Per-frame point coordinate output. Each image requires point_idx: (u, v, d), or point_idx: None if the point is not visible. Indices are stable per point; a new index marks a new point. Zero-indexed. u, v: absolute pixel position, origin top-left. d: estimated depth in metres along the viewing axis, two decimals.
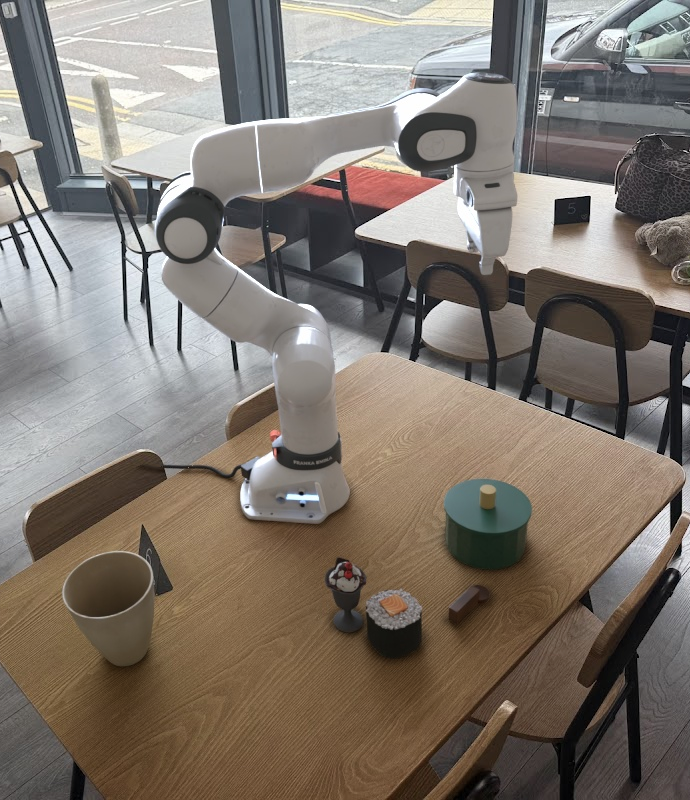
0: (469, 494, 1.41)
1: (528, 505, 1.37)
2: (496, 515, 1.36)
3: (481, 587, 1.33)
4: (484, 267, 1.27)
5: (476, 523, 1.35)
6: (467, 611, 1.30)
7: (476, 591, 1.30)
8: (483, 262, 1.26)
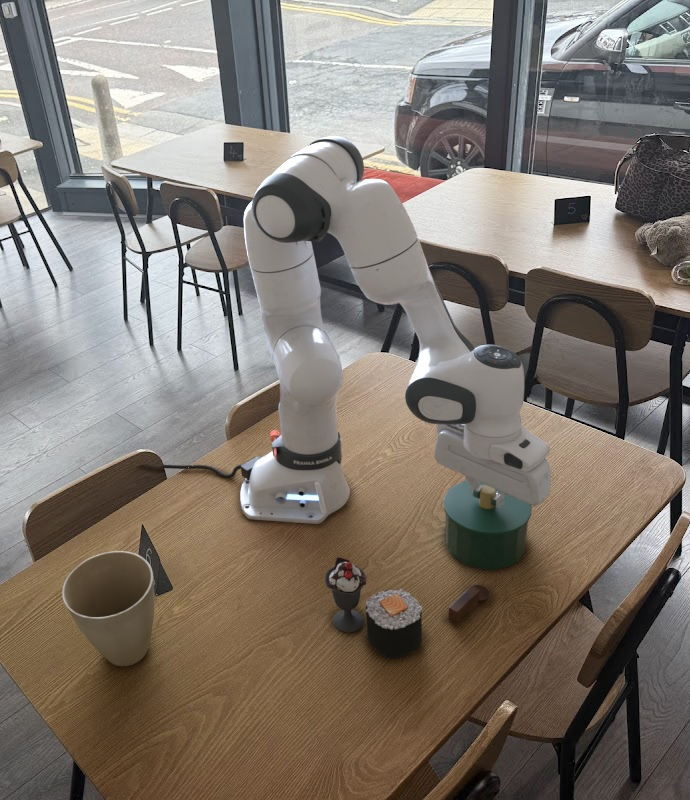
0: (469, 494, 1.41)
1: (528, 505, 1.37)
2: (496, 515, 1.36)
3: (481, 587, 1.33)
4: (500, 501, 1.35)
5: (476, 523, 1.35)
6: (467, 611, 1.30)
7: (476, 591, 1.30)
8: (502, 499, 1.34)
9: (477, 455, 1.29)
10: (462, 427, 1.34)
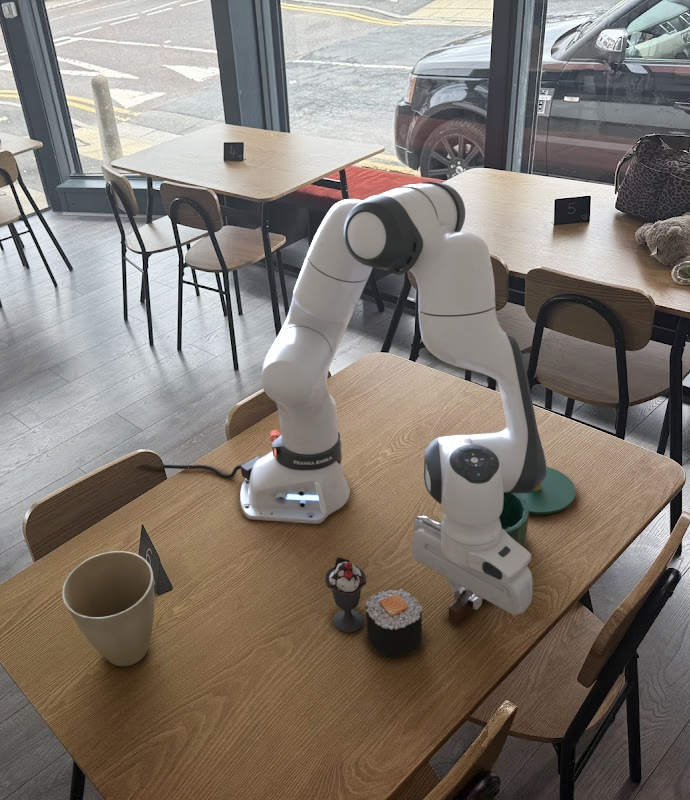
0: None
1: (572, 488, 1.50)
2: (543, 496, 1.49)
3: None
4: (477, 603, 1.28)
5: None
6: (467, 611, 1.30)
7: None
8: (479, 601, 1.27)
9: (455, 561, 1.22)
10: (440, 527, 1.27)
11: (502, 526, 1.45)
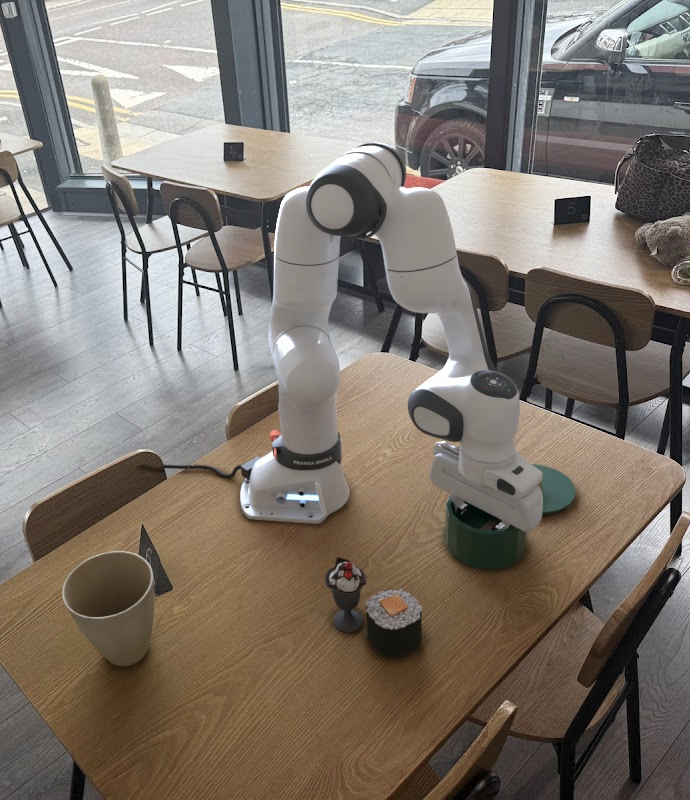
0: None
1: (572, 488, 1.50)
2: (543, 496, 1.49)
3: (497, 522, 1.45)
4: None
5: None
6: None
7: (493, 525, 1.42)
8: (506, 528, 1.34)
9: (471, 479, 1.31)
10: (457, 450, 1.36)
11: None
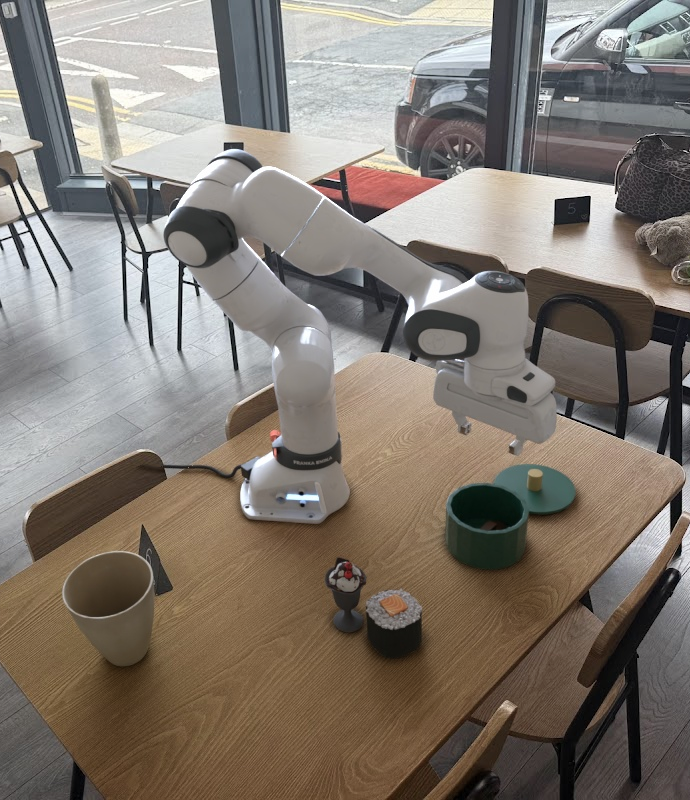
0: (517, 478, 1.55)
1: (572, 488, 1.50)
2: (543, 496, 1.49)
3: (497, 522, 1.45)
4: (518, 449, 1.26)
5: None
6: None
7: (493, 525, 1.42)
8: (521, 445, 1.25)
9: (478, 390, 1.22)
10: (462, 363, 1.27)
11: None
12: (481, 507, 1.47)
